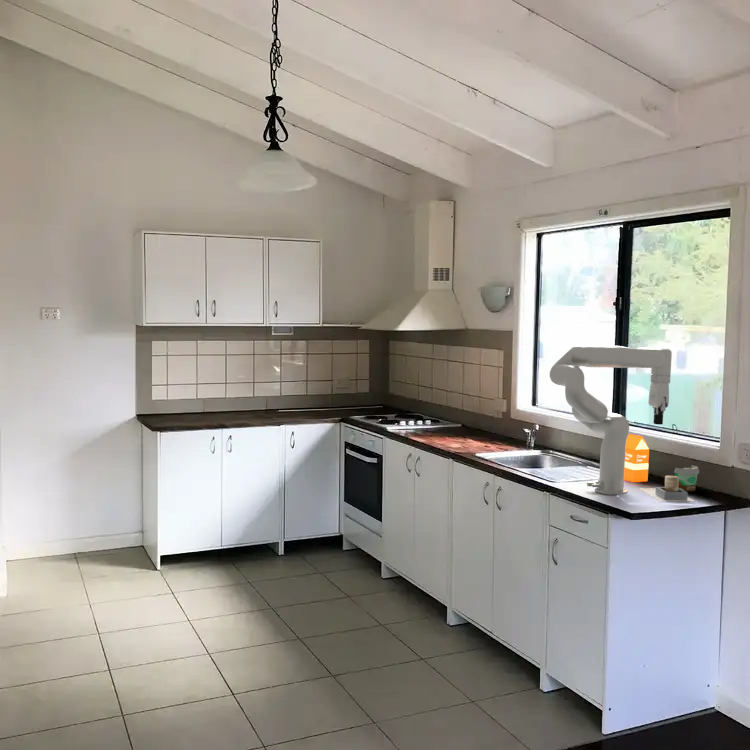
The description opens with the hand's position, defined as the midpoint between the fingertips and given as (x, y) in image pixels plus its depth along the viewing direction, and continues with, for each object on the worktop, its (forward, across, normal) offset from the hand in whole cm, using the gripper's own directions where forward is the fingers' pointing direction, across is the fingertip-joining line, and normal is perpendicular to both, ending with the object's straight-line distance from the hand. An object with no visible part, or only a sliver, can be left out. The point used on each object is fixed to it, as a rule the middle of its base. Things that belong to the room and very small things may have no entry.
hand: (658, 424), depth 336 cm
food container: (+27, +3, +13) cm, 30 cm away
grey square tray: (+27, +17, 0) cm, 32 cm away
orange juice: (+27, -16, -3) cm, 32 cm away
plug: (+26, +17, 0) cm, 31 cm away
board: (+27, +12, 0) cm, 30 cm away
